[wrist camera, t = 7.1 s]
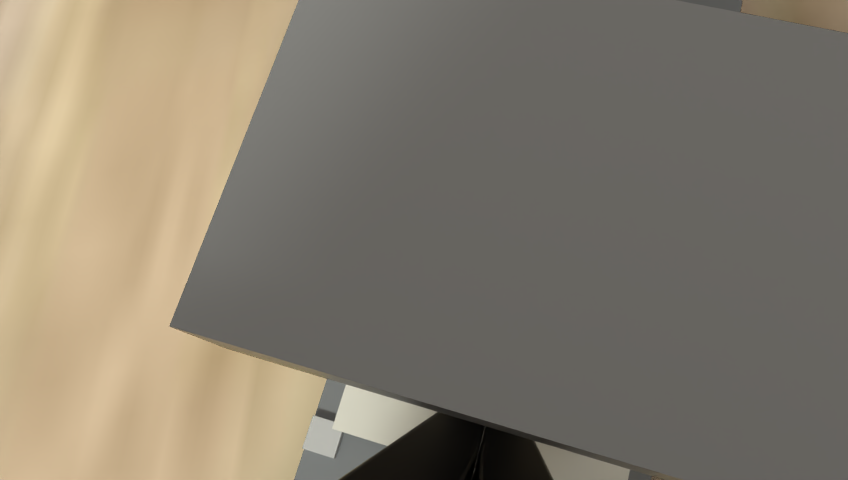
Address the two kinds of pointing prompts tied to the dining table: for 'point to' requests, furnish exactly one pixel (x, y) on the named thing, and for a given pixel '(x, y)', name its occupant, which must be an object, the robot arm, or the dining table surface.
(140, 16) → the dining table surface
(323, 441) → the fader console
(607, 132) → the fader tab
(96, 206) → the dining table surface
